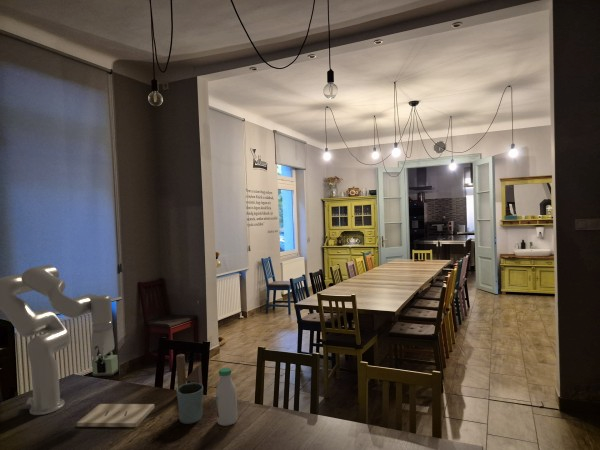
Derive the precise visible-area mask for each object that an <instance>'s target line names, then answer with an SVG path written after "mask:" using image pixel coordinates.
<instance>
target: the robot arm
mask: <svg viewBox="0 0 600 450" xmlns="http://www.w3.org/2000/svg"><path fill="white" fill-rule="evenodd" d="M65 289H66V283H65V281H64V280H62V279H61V278H60V273H59V270H58V269H57V268H56V267H55V266H53V265H51V264H50V265H48V264H47V265H40V266H35V267H30V268H28V269H26V270H25V271H23V273H18V274H12V275H7V276H4V277H0V310H1V311H2V313H3V314H5V316H6V317H7V319H8V320H9V322H10V323H11V324H12V326H13V327H14V329H15V330H16V331H17V332H18V334H19V335H20V336H22V337H24V338H29V337H33V336H35V337H33V338H32V339H30V340H29V342H28V343H27V345H26V352H27V355H28V359H29V362H30V363H29V364H30V372H31V384H32V397H28V399H27V401H26V403H25V405H27V406H31V407H30V408H29V414H31V415H33V416H43V415H47V414H51V413H54V412H57V411H58V410H60V409H62V408H63V407H64V406H65V399H63V398H61V392H60V378H59V376H60V375H59V365H58V362H57V360H56V357H54V354H55V353H57V352H60V351H62V350H64V349H65V348H67V347H68V346H69V345H70V344H71V334H70V333H69V331H68V329H67V328H66V327H65V325H64V324H63V323H62V321H61V320H60V318H59V317H58V316H57V314H56V312H57V313H59V314H61V315H63V316H64V317H67V318H71V319H75V318H76V319H77V318H79V317H82V316H85V315H88V314H91V315H90V317H91V331H92V333H91V341H90V343H91V344H90V345H91V348H90V352H91V356H92V360H94V361H95V362H96V364H97V373H105V372H106V368H105V363H104V357H105V355H114V349H115V347H116V346H115V336H114V330H113V329H114V328H113V327H114V326H113V312H112V311H113V310H112V298H111V296H110V295H105V294H104V295H103V294H102V295H96V294H85V295H81V296H78V297H75V298H71V297H69V296H67V295H65V294H64V292H65ZM32 291H34V292H37V293H39V295H40V294H41V295H43V296H44V297H46V298H48V301H49V305H50V306H51V308H52V309H53V310H55V311H56V312H54V311H52V310H50V309H46V308H45V309H39V310H36V311H34V310H33V309H32V308H31V307H30V305H29V304H28V303H27V301H25V300H24V299H22V298H20V297H18V295H21V294H25V293H28V292H32ZM38 334H39V335H38ZM99 357H102V360H101V359H100V358H99Z"/></svg>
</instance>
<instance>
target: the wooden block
mask: <svg viewBox="0 0 600 450" xmlns="http://www.w3.org/2000/svg"><path fill="white" fill-rule="evenodd" d="M185 355H186V354H184V353H180V354H177V355H176V357H175V360H176V376H177V379H176V380H177V388H178V387H179V386H181V385H183V384H187V382H190V383H200V384H202V385H203V375H202V374H203V373H202V362H200V363H199V364H198V365H197V366H196V367H195V368H194V369H193V370H192V371H191V372H190V374H189V375H188V376H187V375H186V374H187V373H186V360H185V359H186V356H185ZM177 388H176V393H177Z"/></svg>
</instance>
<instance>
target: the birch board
mask: <svg viewBox="0 0 600 450" xmlns="http://www.w3.org/2000/svg"><path fill="white" fill-rule="evenodd" d="M154 409H155V404H154V403H100V404H98V405H96V406H95V407H94V408H93V409H91V410H90V411H89V412H88V413H86V415H84V416H83V417H82V418H81V419H79V420H78V421H76V427H88V428H89V427H93V428H94V427H96V428H97V427H98V428H99V427H101V428H104V427H105V428H108V427H109V428H137V427H138V426H139V425H140V423H142V422H143V421H144V420H145V418H146V417H147V416H148V415H150V413H151V412H152V411H153V410H154Z"/></svg>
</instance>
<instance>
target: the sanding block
mask: <svg viewBox="0 0 600 450" xmlns="http://www.w3.org/2000/svg"><path fill="white" fill-rule="evenodd" d="M99 358H100V359H101V360H102V357H99ZM104 363H105V368H106V372H105V373H97V364H96V362H95V361H94V360H93V359H91V366H92V367H91V369H92V376H93V377H95V376H97V377H98V376H99V377H100V376H113V375H114V374H116V373H117V372H118V371H119V359H118V354H113V355H105V357H104Z"/></svg>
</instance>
